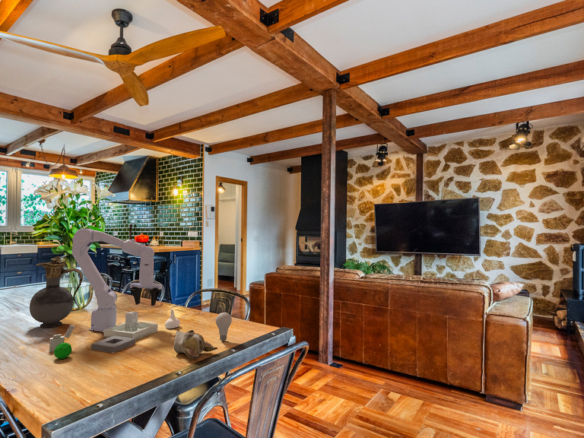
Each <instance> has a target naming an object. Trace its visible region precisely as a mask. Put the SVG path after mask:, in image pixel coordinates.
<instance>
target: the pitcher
mask: <svg viewBox="0 0 584 438" xmlns="http://www.w3.org/2000/svg"><path fill="white" fill-rule="evenodd" d="M50 260H51V261H49V262H48V261H47V262H39V263H37V264H36V265H35V266H36V267H37V266H41V267H43V269H44V270H45V279H46V280H45V287H43V288H42V289H39V290H38V291H36V292H35V293H34V294H33V296H32V298H31V299H30V302H29V306H28V307H29V314H30V316H31V317H32V318H33V319H34V321H36V322H38V323H41V324H40V325H39V328H41V329H49V328H51V329H52V328H57V327H60V326H62V325H63V320H64V319H66V318H67V317H69V315H70V314H71V312H72V311H73V308H74V304H75V306H77V308H78V309H79V308H80V306H79V304H78V303H77V301H76V295H77V292H78V291H79V289H80V287H81V285H82V283H83V280H84V279H83V278H84V273H83V271H82V270H81V269H79V268H77V267H76V268H75V267H71V268H67V269H66V268H64V266H65V265H66V264H67V262H68V260H63V261H62V257H61V256H55V257H54V258H53V257H52V258H51V259H50ZM61 261H62V262H61ZM71 272H73V273H77V274H78V275H79V281H78V284H77V287H76V288H75V291H74V292H73V295H72V293H71V291H70V290H69V289H67V288H65V287H62V286H61V284H60V283H61V277H62V275H64V274H68V273H71Z"/></svg>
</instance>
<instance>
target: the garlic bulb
mask: <svg viewBox="0 0 584 438" xmlns="http://www.w3.org/2000/svg"><path fill="white" fill-rule="evenodd" d="M180 324H181V322H180V320H179V318H177V317H176V315H175V311H174V309H173V308H171V309H170V315H169V318H168V319H167V320H166V321H165V323H164V326H165V328H166V329H175V328H179V327H180V326H181V325H180Z"/></svg>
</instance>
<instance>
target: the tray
mask: <svg viewBox="0 0 584 438" xmlns="http://www.w3.org/2000/svg"><path fill="white" fill-rule="evenodd" d="M158 325H159V323H152V322H151V323H150V322H145V321H144V322H143V321H138V325H137V331H135V332H126V331H125V322H123V323H120V324H118V325H117V324H116V326H114V327H111V328H108V329H105V330H104V332H103V338H105V337H107V338H109V337H112V336H120V337H128V338H135V341H137V340H140V339H142V338H145V337H147V336H149V335H151V334H154V333H157V332H158V331H159V329H158V328H159V327H158Z"/></svg>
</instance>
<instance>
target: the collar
mask: <svg viewBox="0 0 584 438" xmlns="http://www.w3.org/2000/svg"><path fill="white" fill-rule="evenodd" d="M135 344H136V340H135V338H128V337H120V336H112V337H109V338H104V339H101V340H98V341H95V342H93V343H91V346H90V348H91V351H99V352H105V353H109V354H110V353H111V354H115V353H117V352H120V351H123V350H125V349H127V348H129V347H131V345H132V346H133V345H135Z"/></svg>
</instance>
